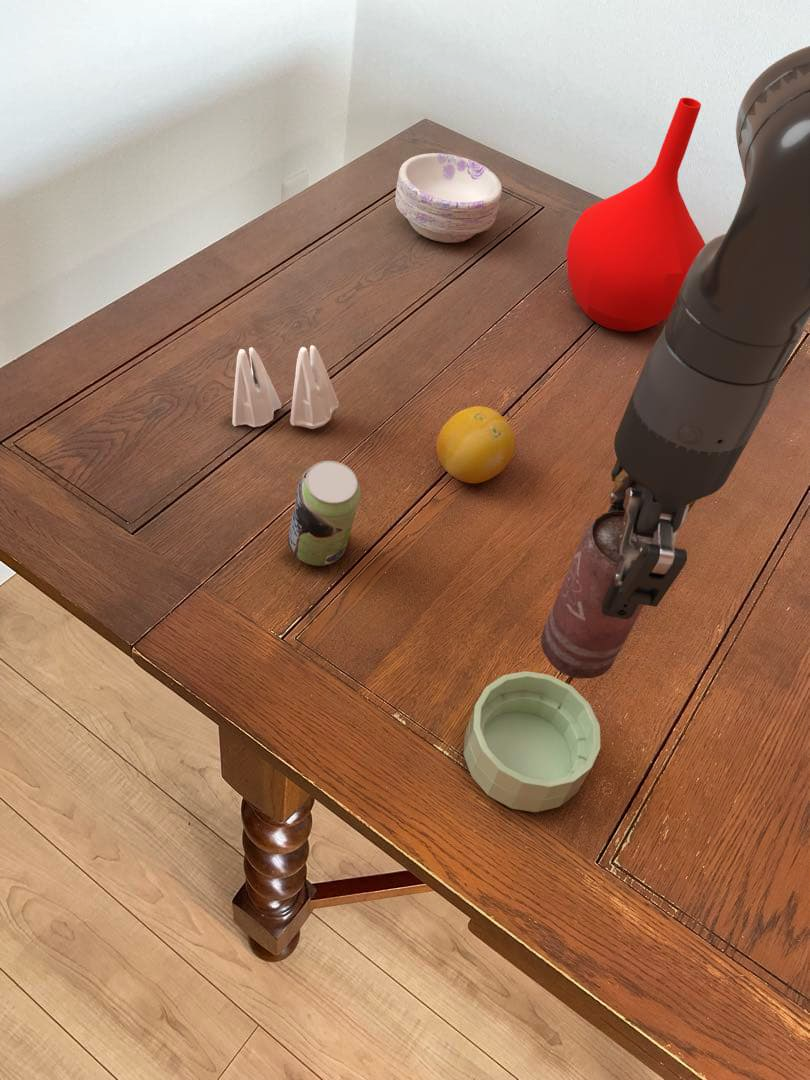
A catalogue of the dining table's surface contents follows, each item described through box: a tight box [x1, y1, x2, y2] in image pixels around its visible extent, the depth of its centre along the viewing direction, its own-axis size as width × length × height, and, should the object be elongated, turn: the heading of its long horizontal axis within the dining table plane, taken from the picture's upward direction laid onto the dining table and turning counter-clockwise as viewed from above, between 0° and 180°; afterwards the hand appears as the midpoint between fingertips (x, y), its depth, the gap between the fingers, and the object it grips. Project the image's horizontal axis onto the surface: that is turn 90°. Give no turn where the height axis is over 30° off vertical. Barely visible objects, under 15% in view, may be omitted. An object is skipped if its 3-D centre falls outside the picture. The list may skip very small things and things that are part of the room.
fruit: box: [435, 405, 516, 484], centre depth 109 cm, size 9×8×8 cm
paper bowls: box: [394, 152, 503, 244], centre depth 142 cm, size 15×15×8 cm
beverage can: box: [287, 460, 362, 567], centre depth 96 cm, size 6×7×12 cm
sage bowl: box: [463, 670, 601, 813], centre depth 86 cm, size 11×11×6 cm
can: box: [540, 511, 653, 680], centre depth 73 cm, size 6×6×14 cm
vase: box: [566, 97, 706, 333], centre depth 126 cm, size 18×18×30 cm
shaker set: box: [231, 344, 340, 430], centre depth 109 cm, size 12×4×11 cm, turn 89°
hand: (613, 576), depth 71 cm, fingers closed on can, 6 cm apart
